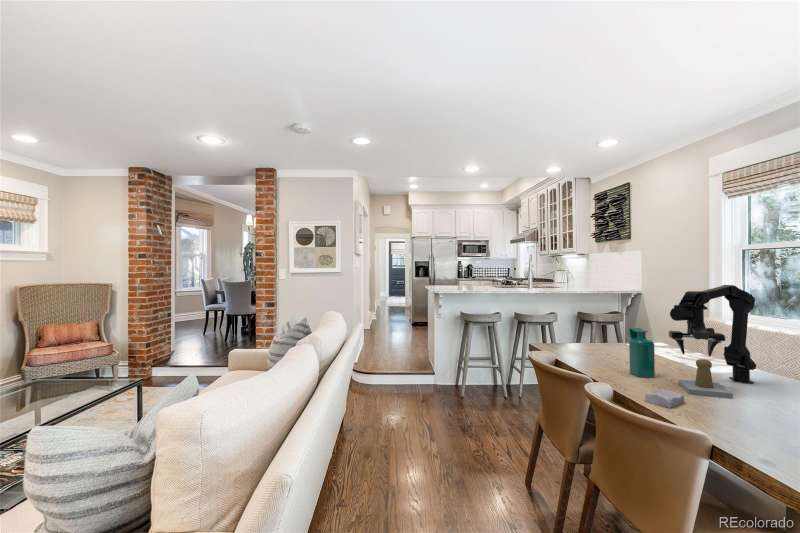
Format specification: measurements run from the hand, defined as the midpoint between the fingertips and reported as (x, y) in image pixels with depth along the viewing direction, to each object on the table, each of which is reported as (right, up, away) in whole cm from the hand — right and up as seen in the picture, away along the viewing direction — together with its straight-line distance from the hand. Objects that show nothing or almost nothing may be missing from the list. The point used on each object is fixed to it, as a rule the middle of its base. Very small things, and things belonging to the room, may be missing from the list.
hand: (696, 355), depth 159 cm
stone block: (-29, -14, -20) cm, 38 cm away
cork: (-3, -11, -8) cm, 14 cm away
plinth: (-3, -13, -8) cm, 16 cm away
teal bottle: (-14, -14, +16) cm, 25 cm away
